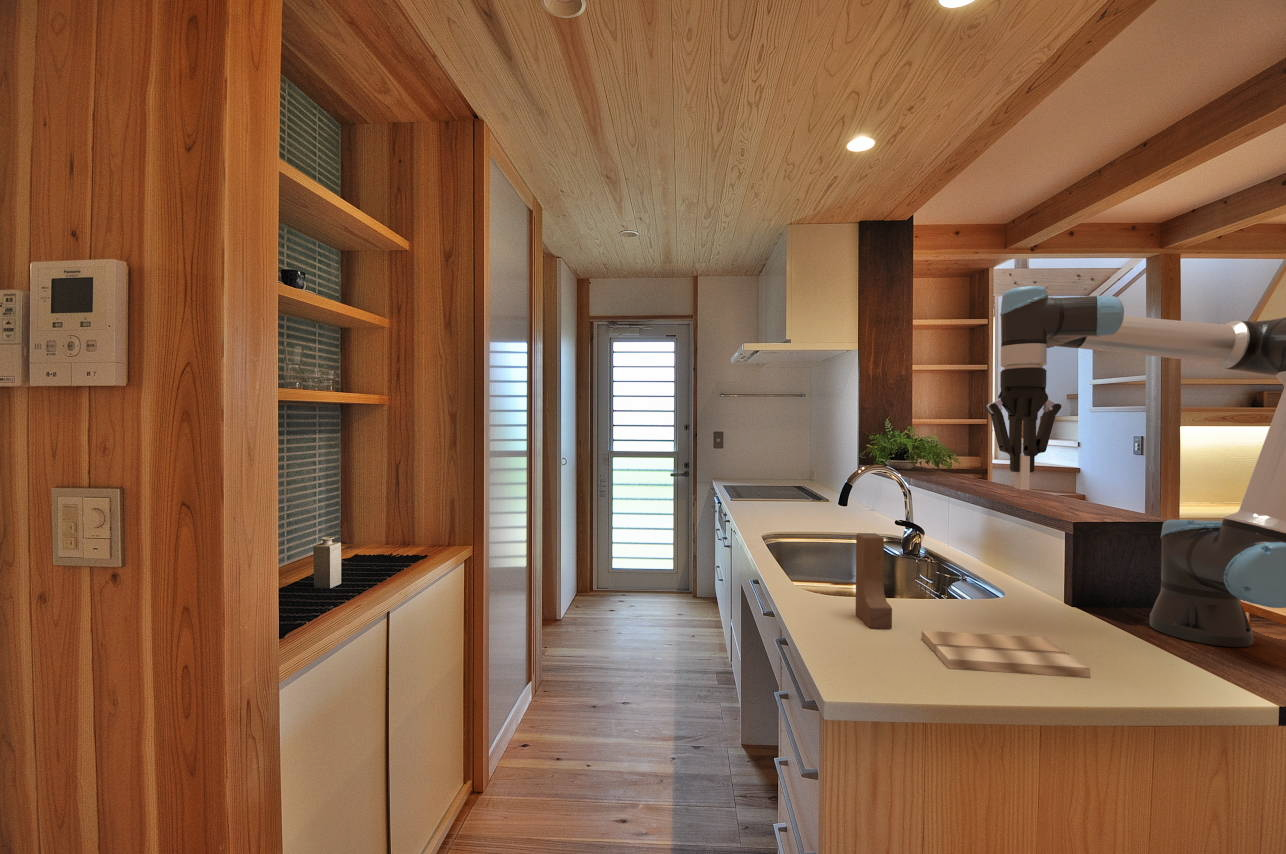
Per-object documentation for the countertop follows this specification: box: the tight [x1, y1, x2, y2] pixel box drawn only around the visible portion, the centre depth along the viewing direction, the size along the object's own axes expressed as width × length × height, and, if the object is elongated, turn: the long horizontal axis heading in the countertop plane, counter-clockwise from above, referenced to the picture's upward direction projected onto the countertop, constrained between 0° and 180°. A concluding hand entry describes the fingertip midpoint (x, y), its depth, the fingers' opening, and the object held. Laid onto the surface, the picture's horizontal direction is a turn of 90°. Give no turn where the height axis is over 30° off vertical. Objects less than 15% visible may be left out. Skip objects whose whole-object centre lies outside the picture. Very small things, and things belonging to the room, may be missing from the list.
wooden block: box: [855, 532, 893, 630], centre depth 123 cm, size 9×4×18 cm, turn 179°
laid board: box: [934, 645, 1091, 679], centre depth 101 cm, size 22×6×2 cm, turn 82°
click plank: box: [921, 630, 1067, 653], centre depth 108 cm, size 22×7×2 cm, turn 82°
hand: (1021, 489), depth 113 cm, fingers closed
